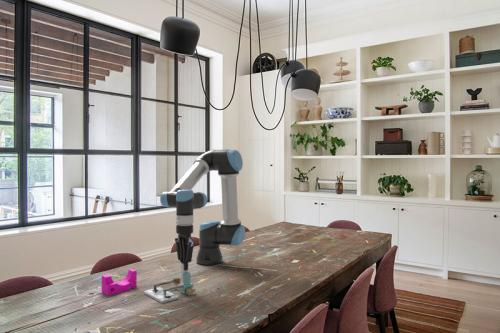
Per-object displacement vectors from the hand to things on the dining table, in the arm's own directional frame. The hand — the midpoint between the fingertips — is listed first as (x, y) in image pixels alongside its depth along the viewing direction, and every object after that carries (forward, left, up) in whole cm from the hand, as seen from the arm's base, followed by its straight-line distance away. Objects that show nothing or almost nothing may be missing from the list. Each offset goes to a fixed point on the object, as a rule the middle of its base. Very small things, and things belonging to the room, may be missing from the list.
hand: (184, 277), depth 171 cm
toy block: (+20, -22, -7) cm, 30 cm away
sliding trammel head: (0, +4, -7) cm, 7 cm away
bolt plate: (+11, -2, -7) cm, 13 cm away
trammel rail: (0, -2, -7) cm, 7 cm away
